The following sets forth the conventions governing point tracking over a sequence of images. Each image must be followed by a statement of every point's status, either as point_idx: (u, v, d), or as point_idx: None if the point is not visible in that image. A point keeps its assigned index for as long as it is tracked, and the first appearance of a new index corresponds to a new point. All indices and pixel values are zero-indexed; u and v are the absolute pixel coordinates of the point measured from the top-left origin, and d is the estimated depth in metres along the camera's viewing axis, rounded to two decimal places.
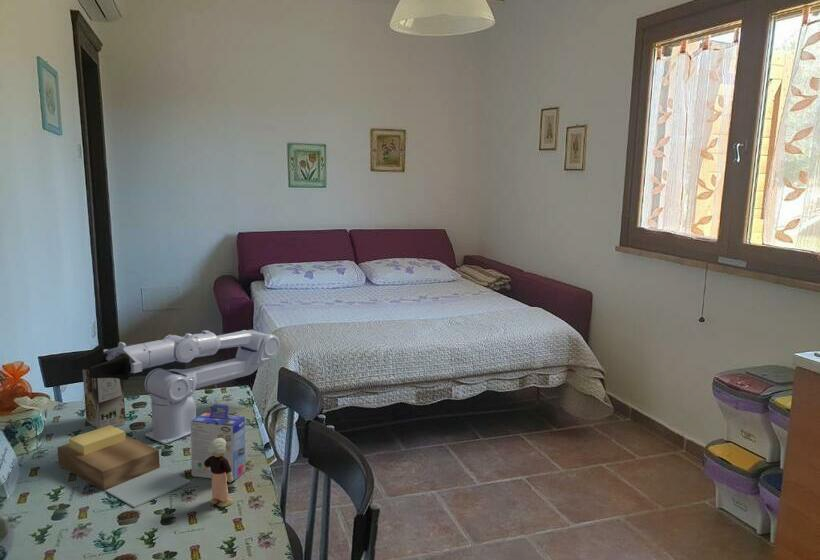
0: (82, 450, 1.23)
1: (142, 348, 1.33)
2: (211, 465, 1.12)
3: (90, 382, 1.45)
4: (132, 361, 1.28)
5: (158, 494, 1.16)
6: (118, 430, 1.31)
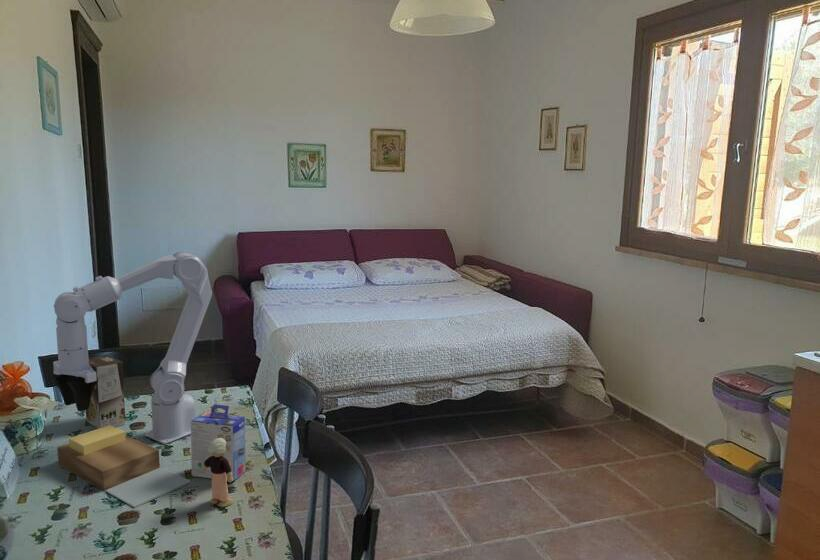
0: (82, 450, 1.23)
1: (66, 355, 1.27)
2: (211, 465, 1.12)
3: None
4: None
5: (158, 494, 1.16)
6: (118, 430, 1.31)
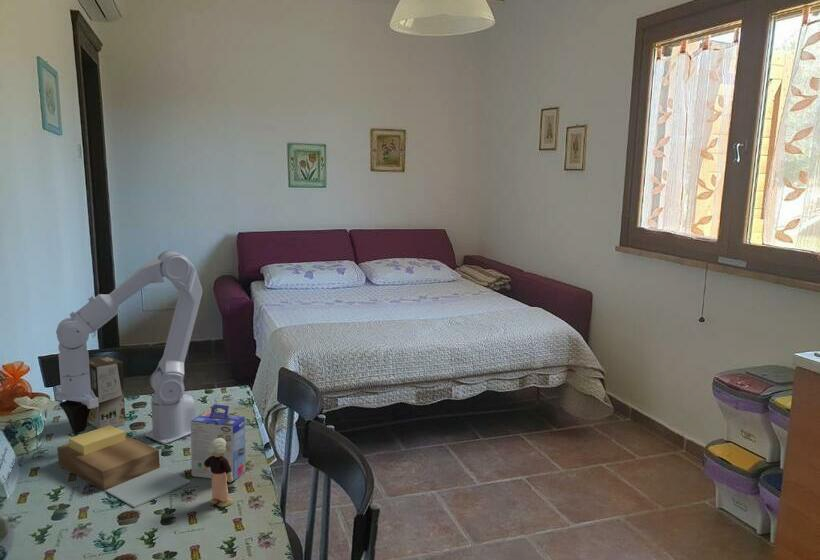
0: (82, 450, 1.23)
1: (68, 381, 1.28)
2: (211, 465, 1.12)
3: None
4: None
5: (158, 494, 1.16)
6: (118, 430, 1.31)
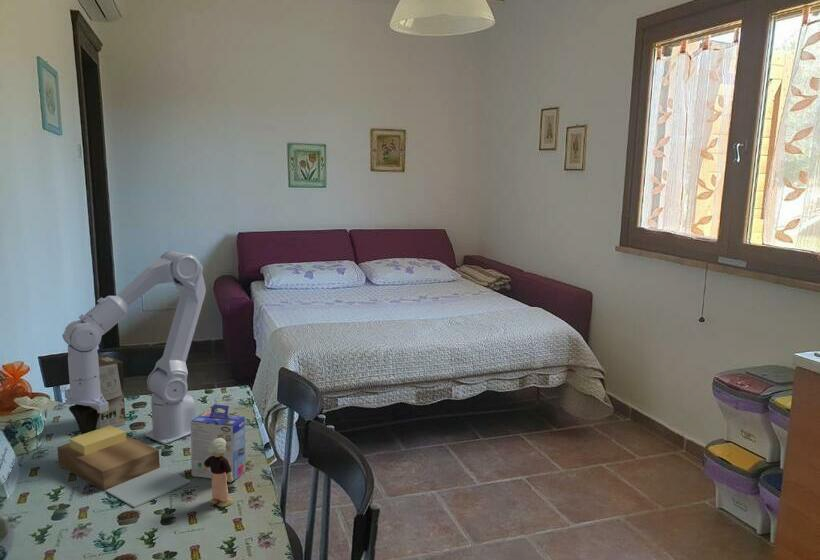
0: (83, 450, 1.23)
1: (77, 385, 1.26)
2: (211, 465, 1.12)
3: None
4: None
5: (158, 494, 1.16)
6: (119, 430, 1.31)
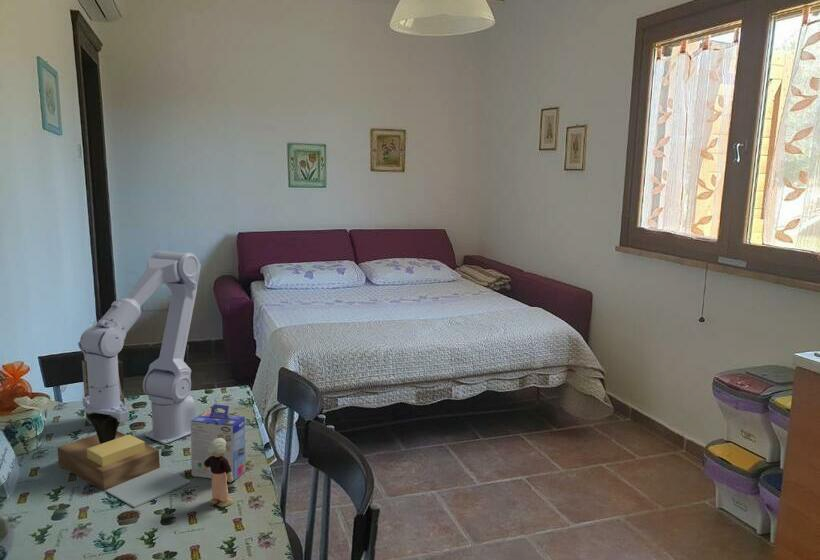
0: (101, 461, 1.19)
1: (97, 392, 1.21)
2: (211, 465, 1.12)
3: None
4: None
5: (158, 494, 1.16)
6: (137, 440, 1.26)
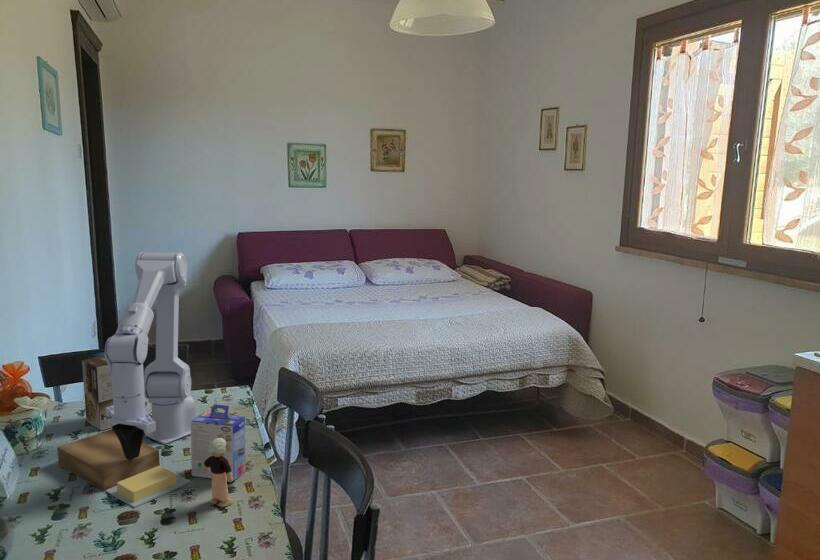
0: (118, 487, 1.16)
1: (122, 403, 1.16)
2: (211, 465, 1.12)
3: (90, 382, 1.45)
4: None
5: (158, 494, 1.16)
6: None
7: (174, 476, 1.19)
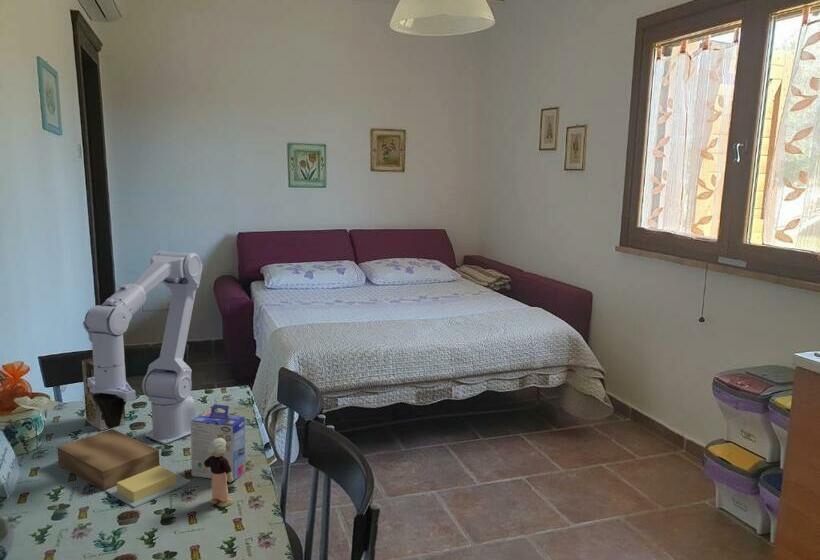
0: (118, 487, 1.16)
1: (102, 372, 1.19)
2: (211, 465, 1.12)
3: None
4: None
5: (158, 494, 1.16)
6: None
7: (174, 476, 1.19)
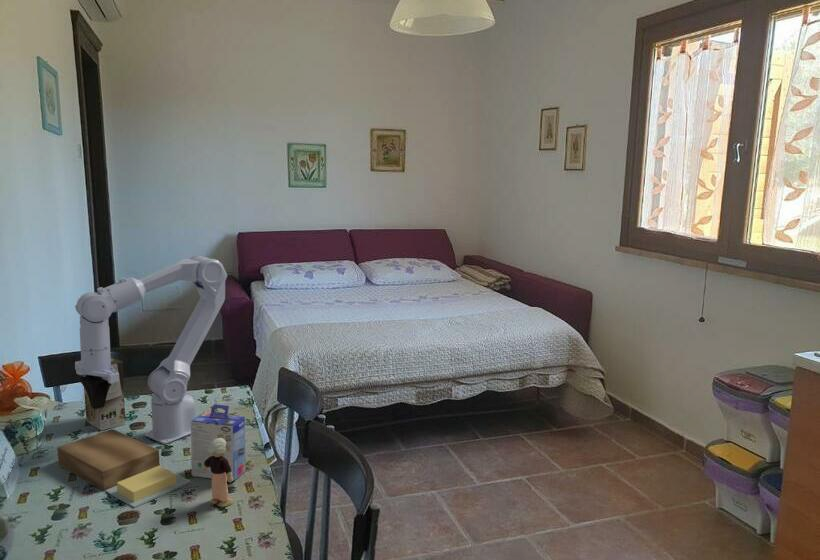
0: (118, 487, 1.16)
1: (89, 355, 1.27)
2: (211, 465, 1.12)
3: None
4: None
5: (158, 494, 1.16)
6: None
7: (174, 476, 1.19)
